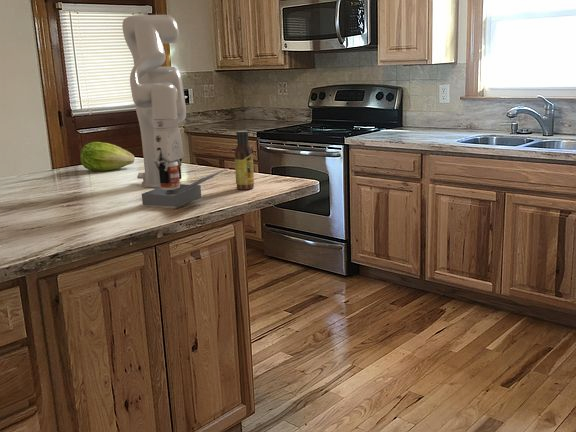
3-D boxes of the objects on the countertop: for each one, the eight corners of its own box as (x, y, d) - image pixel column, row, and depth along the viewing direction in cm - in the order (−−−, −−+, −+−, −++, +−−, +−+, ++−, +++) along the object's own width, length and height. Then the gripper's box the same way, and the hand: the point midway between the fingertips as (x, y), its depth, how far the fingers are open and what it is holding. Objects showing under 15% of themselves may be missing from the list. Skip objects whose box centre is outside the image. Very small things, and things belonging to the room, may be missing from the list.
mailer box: (142, 206, 194) (141, 193, 193) (170, 195, 209) (169, 183, 208) (175, 208, 190) (174, 195, 189) (201, 196, 204) (200, 184, 203)
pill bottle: (173, 190, 194) (170, 155, 192) (157, 190, 196) (153, 155, 194) (183, 186, 200) (181, 152, 197) (167, 186, 202) (164, 152, 199)
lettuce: (134, 157, 254) (135, 136, 264) (78, 155, 250) (81, 133, 259) (134, 180, 264) (135, 159, 273) (80, 178, 259) (83, 157, 268)
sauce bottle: (251, 190, 211) (248, 132, 206) (234, 190, 212) (230, 132, 207) (256, 186, 217) (253, 129, 212) (239, 186, 218) (235, 130, 213)
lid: (202, 177, 184) (203, 178, 184) (227, 167, 198) (227, 169, 198) (174, 192, 189) (174, 193, 189) (199, 182, 203) (200, 183, 203)
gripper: (160, 127, 184) (166, 186, 188) (190, 121, 199) (194, 176, 204) (139, 127, 187) (145, 185, 191) (170, 121, 202) (175, 175, 207)
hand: (171, 180), depth 197 cm, fingers closed on pill bottle, 6 cm apart
